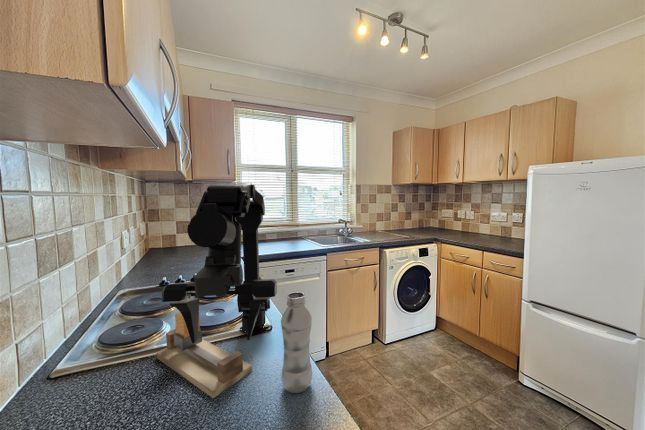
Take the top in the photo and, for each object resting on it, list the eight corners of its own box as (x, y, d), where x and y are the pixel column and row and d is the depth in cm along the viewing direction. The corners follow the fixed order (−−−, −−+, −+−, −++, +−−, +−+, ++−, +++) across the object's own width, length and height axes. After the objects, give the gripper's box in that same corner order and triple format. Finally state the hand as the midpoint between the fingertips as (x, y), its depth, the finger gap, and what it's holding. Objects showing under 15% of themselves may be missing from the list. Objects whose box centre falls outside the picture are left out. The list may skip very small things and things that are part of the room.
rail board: (194, 340, 75) (194, 321, 75) (251, 371, 61) (251, 348, 61) (156, 358, 67) (155, 337, 66) (213, 398, 53) (212, 372, 53)
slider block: (193, 337, 70) (192, 307, 70) (202, 341, 68) (200, 311, 68) (174, 345, 66) (172, 314, 66) (182, 350, 64) (181, 319, 63)
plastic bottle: (275, 386, 56) (273, 295, 55) (299, 372, 61) (298, 287, 60) (294, 403, 52) (292, 304, 50) (319, 386, 56) (318, 295, 55)
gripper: (147, 250, 40) (137, 361, 37) (272, 246, 42) (271, 352, 39) (179, 253, 51) (173, 339, 48) (277, 250, 53) (277, 333, 50)
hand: (221, 340), depth 46 cm, fingers open, 9 cm apart
